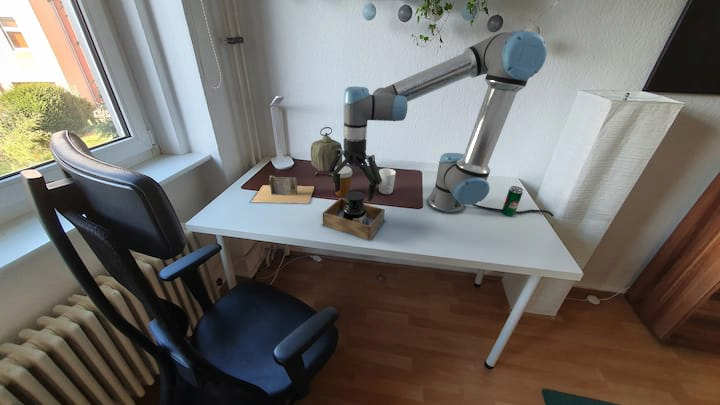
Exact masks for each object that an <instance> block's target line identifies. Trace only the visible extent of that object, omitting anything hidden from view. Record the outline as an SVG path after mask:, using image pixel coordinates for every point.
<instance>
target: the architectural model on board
mask: <svg viewBox="0 0 720 405" xmlns="http://www.w3.org/2000/svg"><path fill="white" fill-rule="evenodd" d="M268 177H269V179H268V181H269V184H263V185H262V186H261V187H260V189H259V190H258V192H257V193H256V195H255V196H254V197H253V199H252V200H251V203H269V204H270V203H271V204H273V203H275V204H276V203H277V204H279V203H280V204H310V202H311V198H312V195H313V192H314V189H315V185H298V183H297V177H290V176H289V177H288V176H287V177H286V176H285V177H283V176H275V175H268Z"/></svg>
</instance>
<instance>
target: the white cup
mask: <svg viewBox="0 0 720 405" xmlns="http://www.w3.org/2000/svg"><path fill="white" fill-rule="evenodd" d="M378 171H379V173H380V176H381V179H382V182H381V183H380V184H379V185H378V192H379V193H380V194H381V195H382V194H383V195H391V194H392V193H393V192H394V187H395V181H396V174H397V172H396V170H395V169H392V168H388V167H387V168H386V167H385V168H381V169H378Z"/></svg>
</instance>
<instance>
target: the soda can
mask: <svg viewBox="0 0 720 405" xmlns="http://www.w3.org/2000/svg"><path fill="white" fill-rule="evenodd" d="M523 194H524V189H523V188H522V187H521V186H517V185H511V186H510V188H508V191H507V194H506V197H505V200H504V203H503V205H502V211H501V213H502V214H503V215H504V216H507V217H513V216H515V215H516V214H517V213H516V211H518V207H519V205H520V202H521V199H522V197H523Z"/></svg>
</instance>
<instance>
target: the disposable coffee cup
mask: <svg viewBox="0 0 720 405" xmlns="http://www.w3.org/2000/svg"><path fill="white" fill-rule="evenodd" d="M337 167H338V166H337ZM337 167H335V170H336V168H337ZM353 173H354V172H353V170H352V168H351V167H349V166H346V165H345V166H344V167H343V168H342V169H341V170H340V171H339V174H340V190H339V191H338V192H337V193H336V192H335V191H334V194H335V195H336V196H337V197H340V198H344V197H346V194H347V193H349V192H350V188H351V182H352V175H353ZM331 174H332V173H331ZM333 187H334V189H335V183H333Z"/></svg>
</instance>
